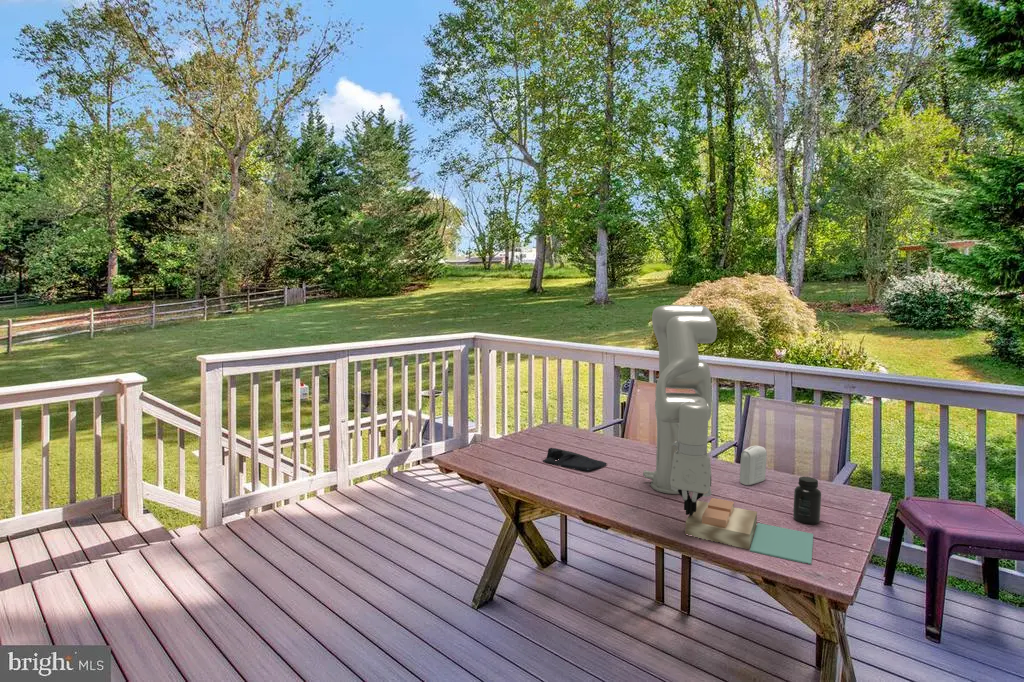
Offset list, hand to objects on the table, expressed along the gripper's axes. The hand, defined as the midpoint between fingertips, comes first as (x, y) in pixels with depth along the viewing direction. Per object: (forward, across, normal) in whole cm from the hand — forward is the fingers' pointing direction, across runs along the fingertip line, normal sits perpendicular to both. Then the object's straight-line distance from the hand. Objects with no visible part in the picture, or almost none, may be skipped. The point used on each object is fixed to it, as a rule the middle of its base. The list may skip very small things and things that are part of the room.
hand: (690, 513), depth 154 cm
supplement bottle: (+5, +28, +23) cm, 36 cm away
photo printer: (+5, +10, +48) cm, 50 cm away
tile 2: (0, +7, 0) cm, 7 cm away
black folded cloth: (+5, -50, +36) cm, 62 cm away
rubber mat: (+5, +23, +4) cm, 24 cm away
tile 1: (0, +7, +8) cm, 10 cm away
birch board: (+5, +8, +4) cm, 10 cm away
